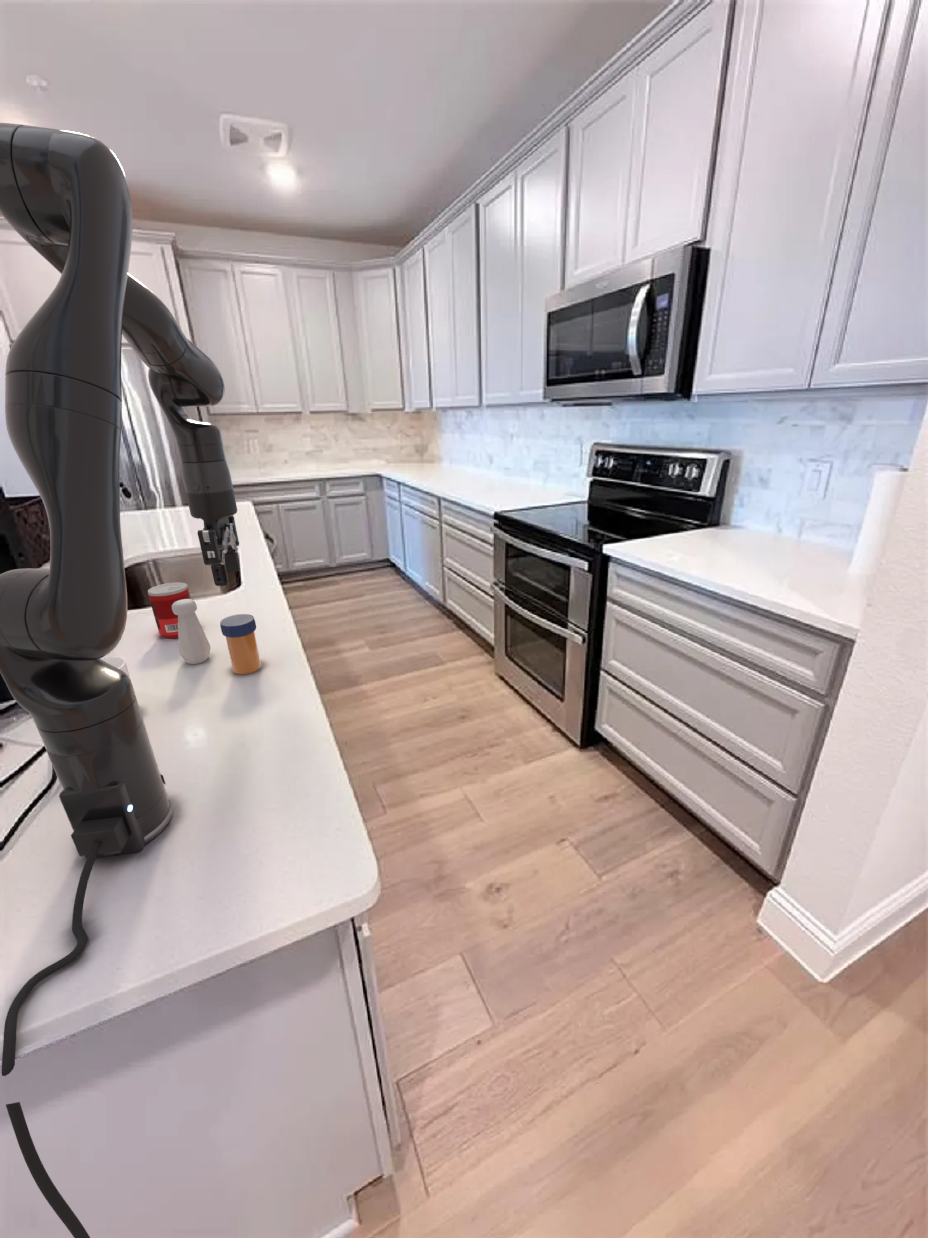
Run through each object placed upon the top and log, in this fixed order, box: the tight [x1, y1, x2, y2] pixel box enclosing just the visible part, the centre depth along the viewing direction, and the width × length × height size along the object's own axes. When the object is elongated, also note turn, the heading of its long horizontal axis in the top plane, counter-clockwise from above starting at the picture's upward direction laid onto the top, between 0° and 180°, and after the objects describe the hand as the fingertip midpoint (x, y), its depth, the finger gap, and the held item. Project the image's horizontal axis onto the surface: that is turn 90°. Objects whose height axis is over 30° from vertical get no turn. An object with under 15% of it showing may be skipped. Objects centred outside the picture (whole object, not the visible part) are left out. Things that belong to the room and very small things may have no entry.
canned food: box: [147, 581, 192, 639], centre depth 116 cm, size 8×8×11 cm
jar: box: [225, 631, 262, 675], centre depth 99 cm, size 5×5×10 cm
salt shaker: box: [172, 598, 212, 665], centre depth 103 cm, size 6×6×13 cm
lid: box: [219, 613, 257, 638], centre depth 98 cm, size 6×6×2 cm
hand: (228, 578), depth 94 cm, fingers open, 7 cm apart
